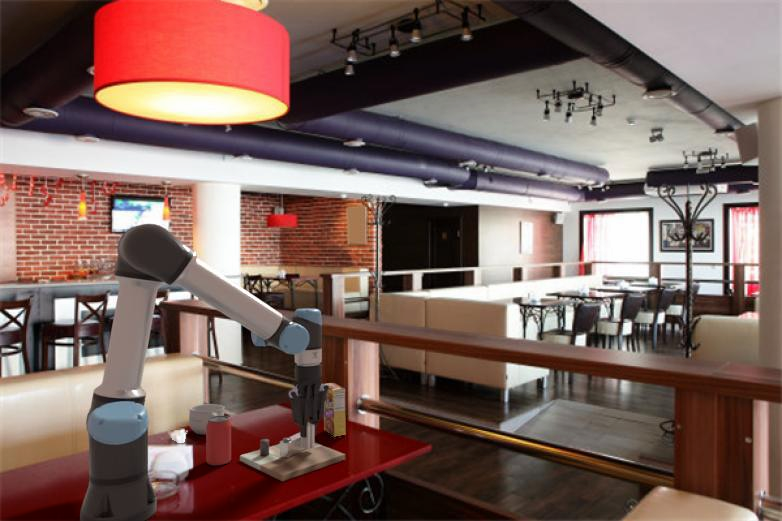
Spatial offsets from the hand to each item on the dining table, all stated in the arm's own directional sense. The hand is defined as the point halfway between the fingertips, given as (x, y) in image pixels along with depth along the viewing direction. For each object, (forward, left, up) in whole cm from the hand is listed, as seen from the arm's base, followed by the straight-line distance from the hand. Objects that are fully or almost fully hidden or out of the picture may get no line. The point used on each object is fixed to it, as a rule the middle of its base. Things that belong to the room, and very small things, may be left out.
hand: (308, 447), depth 159 cm
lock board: (-4, +1, -3) cm, 5 cm away
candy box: (+19, +11, -3) cm, 22 cm away
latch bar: (-3, +2, -1) cm, 4 cm away
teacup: (-9, +40, -3) cm, 41 cm away
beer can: (-19, +15, -3) cm, 25 cm away
